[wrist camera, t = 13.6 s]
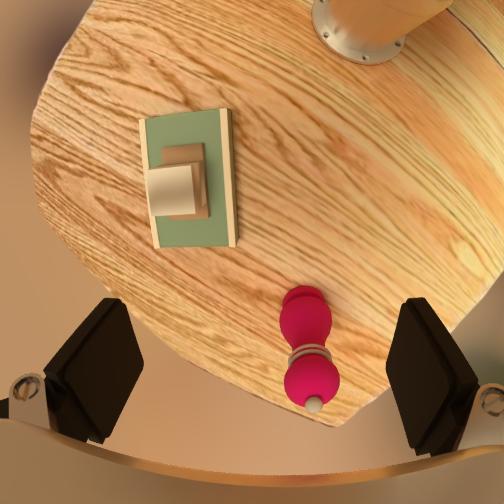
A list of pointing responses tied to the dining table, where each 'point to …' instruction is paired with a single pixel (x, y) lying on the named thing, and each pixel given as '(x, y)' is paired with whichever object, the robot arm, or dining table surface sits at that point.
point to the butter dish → (180, 184)
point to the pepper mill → (308, 349)
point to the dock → (218, 176)
